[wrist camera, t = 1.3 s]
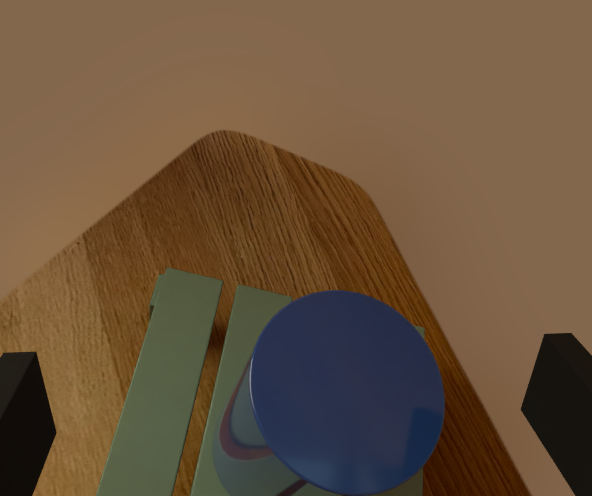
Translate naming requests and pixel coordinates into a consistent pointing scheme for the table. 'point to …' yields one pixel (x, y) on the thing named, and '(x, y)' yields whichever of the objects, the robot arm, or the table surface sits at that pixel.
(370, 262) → the table surface
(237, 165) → the table surface
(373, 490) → the navy blue cylinder
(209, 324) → the rack
